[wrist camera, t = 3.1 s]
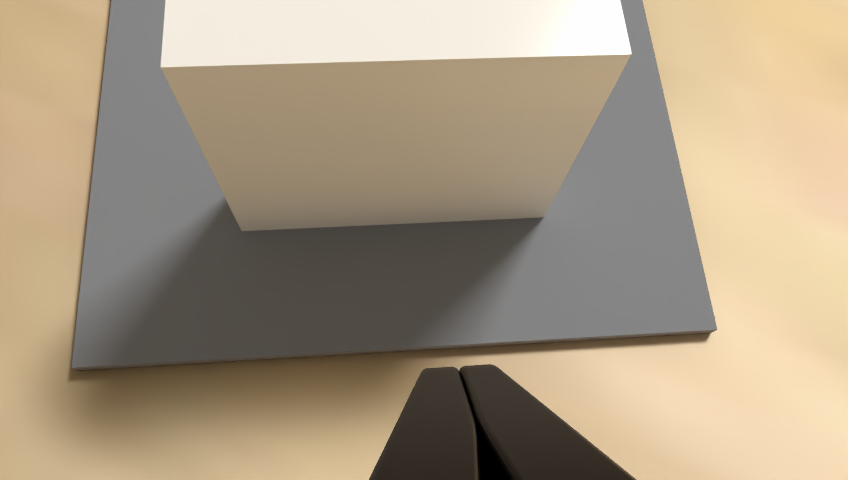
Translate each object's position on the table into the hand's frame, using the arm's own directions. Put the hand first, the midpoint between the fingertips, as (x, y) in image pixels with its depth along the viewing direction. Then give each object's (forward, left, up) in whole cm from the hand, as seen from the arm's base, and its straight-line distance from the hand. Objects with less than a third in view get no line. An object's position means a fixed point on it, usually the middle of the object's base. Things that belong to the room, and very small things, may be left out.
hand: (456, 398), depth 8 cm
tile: (+7, -5, -13) cm, 16 cm away
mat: (+11, -8, -14) cm, 19 cm away
